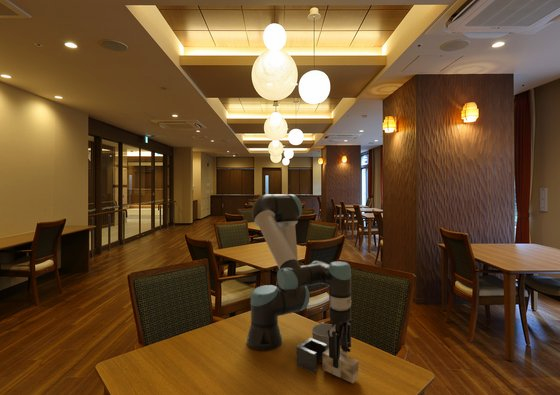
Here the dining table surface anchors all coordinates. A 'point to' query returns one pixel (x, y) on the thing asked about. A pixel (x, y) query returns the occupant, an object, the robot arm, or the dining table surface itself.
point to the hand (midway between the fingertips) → (340, 372)
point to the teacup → (321, 333)
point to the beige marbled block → (342, 366)
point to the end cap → (310, 354)
